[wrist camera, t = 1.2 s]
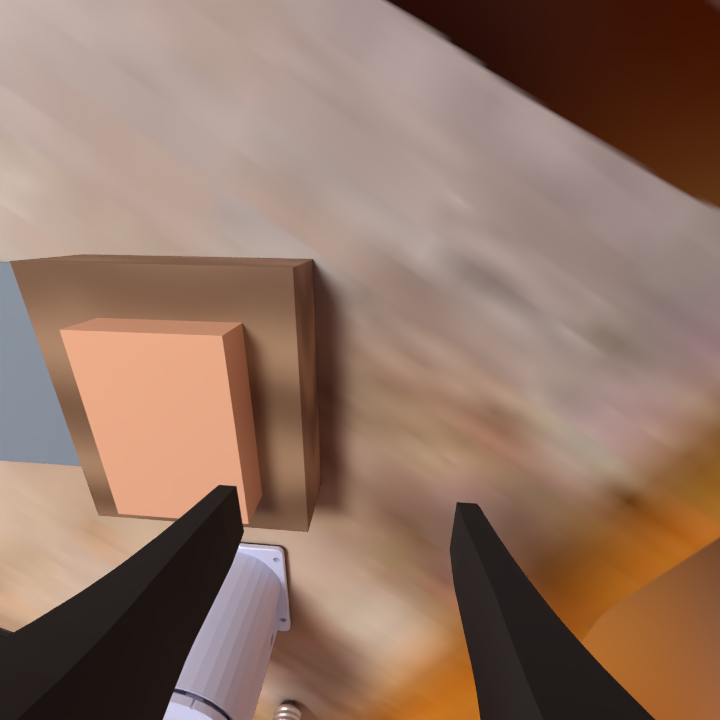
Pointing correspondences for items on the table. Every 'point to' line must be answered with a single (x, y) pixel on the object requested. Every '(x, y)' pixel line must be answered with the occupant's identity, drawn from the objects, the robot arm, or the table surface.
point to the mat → (27, 388)
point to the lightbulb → (287, 712)
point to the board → (209, 304)
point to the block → (167, 411)
